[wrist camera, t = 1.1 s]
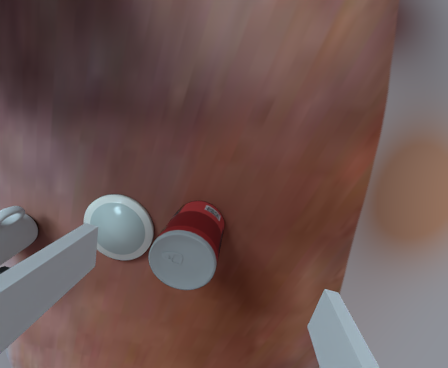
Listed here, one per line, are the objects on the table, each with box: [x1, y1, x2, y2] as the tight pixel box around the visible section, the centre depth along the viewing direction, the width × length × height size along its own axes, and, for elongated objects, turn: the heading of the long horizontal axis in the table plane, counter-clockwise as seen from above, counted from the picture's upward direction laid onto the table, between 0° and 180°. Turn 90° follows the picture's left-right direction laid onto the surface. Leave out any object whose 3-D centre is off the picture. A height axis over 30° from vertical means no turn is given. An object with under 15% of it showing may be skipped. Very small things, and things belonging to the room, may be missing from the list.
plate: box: [84, 194, 154, 260], centre depth 36 cm, size 12×12×1 cm
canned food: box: [148, 201, 224, 290], centre depth 30 cm, size 8×8×11 cm
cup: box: [0, 206, 38, 265], centre depth 34 cm, size 11×8×8 cm
